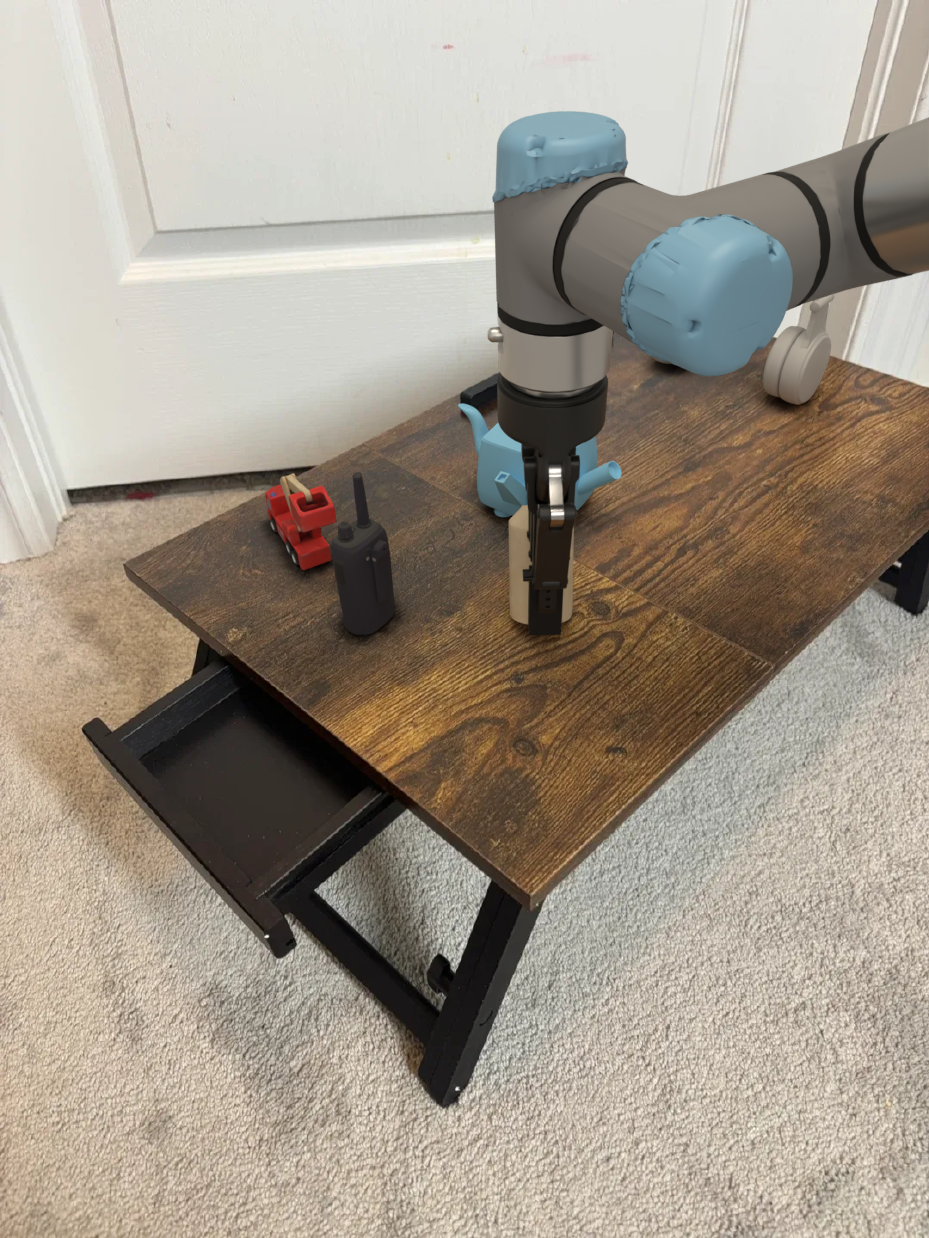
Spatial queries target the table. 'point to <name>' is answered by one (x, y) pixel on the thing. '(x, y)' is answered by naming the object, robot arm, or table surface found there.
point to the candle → (521, 561)
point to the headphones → (798, 357)
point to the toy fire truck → (301, 520)
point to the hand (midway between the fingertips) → (544, 629)
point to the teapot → (506, 468)
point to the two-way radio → (363, 569)
